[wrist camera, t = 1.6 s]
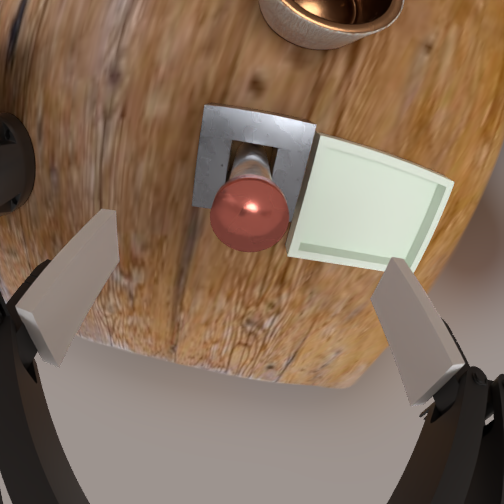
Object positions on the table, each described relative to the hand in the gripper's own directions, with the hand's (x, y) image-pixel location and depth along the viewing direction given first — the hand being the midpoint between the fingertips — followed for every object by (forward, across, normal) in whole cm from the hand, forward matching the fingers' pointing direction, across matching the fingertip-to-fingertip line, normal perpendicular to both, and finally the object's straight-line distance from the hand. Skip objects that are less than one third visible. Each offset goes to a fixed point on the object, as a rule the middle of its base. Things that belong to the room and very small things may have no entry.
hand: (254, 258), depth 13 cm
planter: (+19, +2, +18) cm, 27 cm away
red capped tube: (+19, 0, 0) cm, 19 cm away
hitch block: (+19, 0, 0) cm, 19 cm away
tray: (+19, +14, -3) cm, 24 cm away
